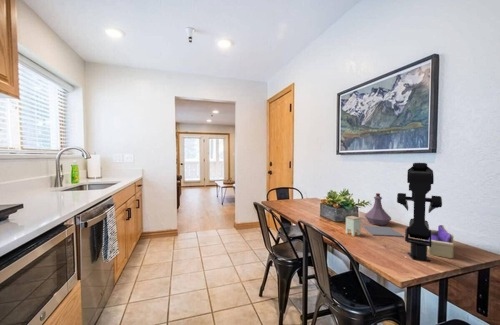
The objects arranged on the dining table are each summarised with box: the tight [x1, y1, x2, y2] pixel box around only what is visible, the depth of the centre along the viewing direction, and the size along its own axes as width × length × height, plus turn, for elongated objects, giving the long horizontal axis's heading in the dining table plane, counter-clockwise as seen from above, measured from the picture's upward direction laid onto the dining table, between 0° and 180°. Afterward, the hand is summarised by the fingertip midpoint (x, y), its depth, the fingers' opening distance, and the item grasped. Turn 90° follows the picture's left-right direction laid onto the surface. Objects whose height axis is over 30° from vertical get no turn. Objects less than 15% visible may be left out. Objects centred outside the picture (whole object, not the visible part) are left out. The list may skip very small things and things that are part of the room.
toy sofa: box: [424, 224, 455, 259], centre depth 107 cm, size 21×9×10 cm, turn 150°
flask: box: [364, 192, 392, 226], centre depth 150 cm, size 16×16×20 cm
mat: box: [362, 225, 405, 238], centre depth 132 cm, size 16×16×1 cm
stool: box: [345, 215, 361, 237], centre depth 128 cm, size 5×5×10 cm
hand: (418, 211), depth 122 cm, fingers open, 9 cm apart
